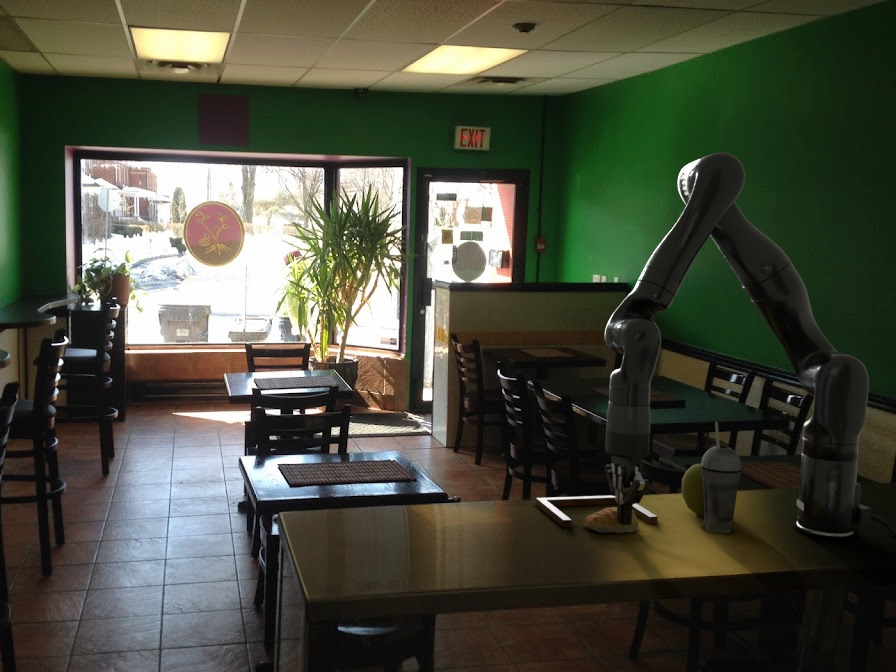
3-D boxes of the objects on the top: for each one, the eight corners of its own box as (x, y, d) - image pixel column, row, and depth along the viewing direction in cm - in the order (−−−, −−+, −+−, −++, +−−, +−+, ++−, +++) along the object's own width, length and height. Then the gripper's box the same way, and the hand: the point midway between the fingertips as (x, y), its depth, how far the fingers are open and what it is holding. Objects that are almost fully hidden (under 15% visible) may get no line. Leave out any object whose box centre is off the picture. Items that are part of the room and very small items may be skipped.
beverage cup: (742, 537, 160) (748, 427, 159) (700, 533, 162) (705, 424, 160) (735, 525, 167) (740, 419, 166) (694, 521, 169) (699, 417, 167)
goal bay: (622, 501, 181) (623, 494, 181) (657, 523, 167) (657, 516, 167) (535, 504, 178) (535, 497, 178) (563, 527, 164) (563, 520, 164)
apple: (735, 524, 168) (739, 467, 167) (681, 519, 170) (684, 462, 169) (731, 509, 177) (733, 455, 176) (679, 504, 180) (682, 451, 179)
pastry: (596, 536, 159) (597, 515, 159) (576, 525, 165) (577, 505, 165) (641, 531, 162) (642, 511, 162) (620, 521, 168) (621, 501, 168)
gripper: (666, 435, 153) (661, 534, 154) (630, 420, 166) (626, 512, 167) (625, 436, 151) (621, 536, 152) (592, 421, 164) (588, 513, 165)
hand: (623, 523), depth 160 cm, fingers closed
